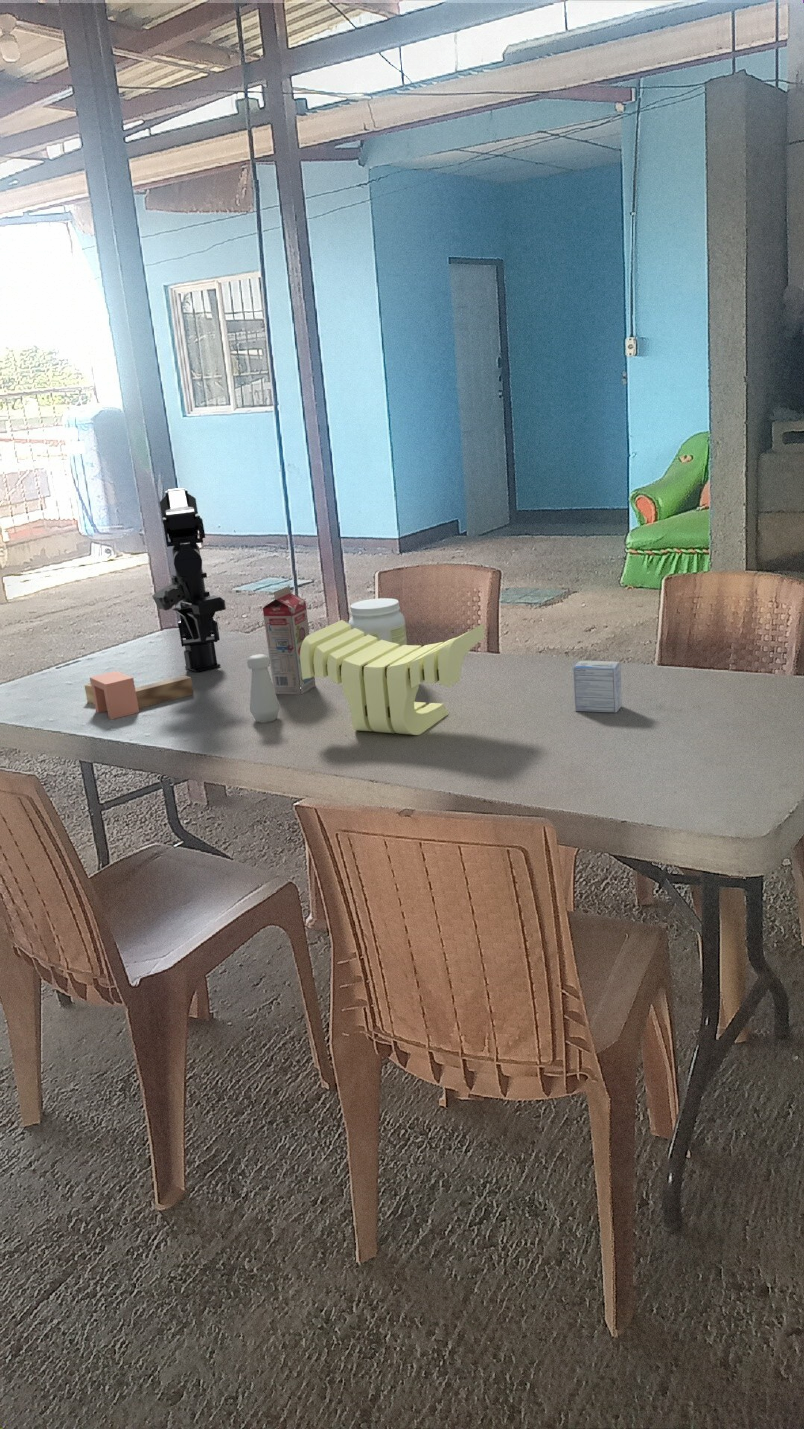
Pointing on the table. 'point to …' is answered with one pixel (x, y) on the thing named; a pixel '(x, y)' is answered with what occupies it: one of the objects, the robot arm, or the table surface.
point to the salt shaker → (262, 690)
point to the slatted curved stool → (385, 675)
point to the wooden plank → (164, 691)
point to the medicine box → (597, 686)
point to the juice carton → (286, 641)
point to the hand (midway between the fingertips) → (199, 640)
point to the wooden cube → (89, 693)
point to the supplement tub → (379, 619)
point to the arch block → (114, 694)
